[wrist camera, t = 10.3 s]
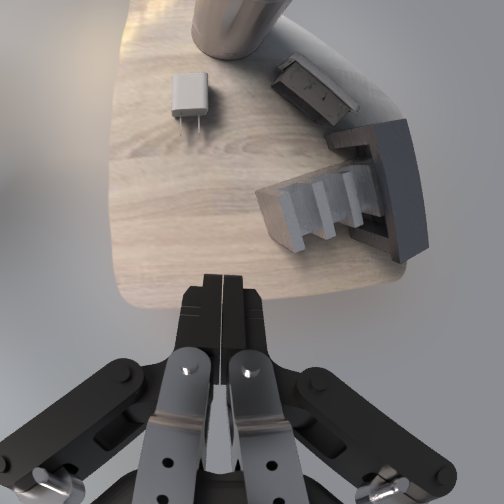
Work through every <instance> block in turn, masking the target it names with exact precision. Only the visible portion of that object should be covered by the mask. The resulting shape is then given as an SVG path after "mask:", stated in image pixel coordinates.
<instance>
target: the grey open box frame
mask: <svg viewBox="0 0 504 504" xmlns="http://www.w3.org/2000/svg"><path fill="white" fill-rule="evenodd" d="M325 139H326V142H327V145H328V148H329V149H335V148H343V147H351V146H356V149H357V152H358V156H359V157H372V158H373V162H374V166H375V170H376V174H377V179H378V183H379V188H380V192H381V197H382V202H383V207H384V213H385V215H384V216H381V217H379V216H375V215H372V216H373V220H369V219H365V218H364V219H363V223H364V224H363V225H361V226H358V227H356V228H354V227H351V226H349V230H350V235H351V238H352V239H355V240H358V241H360V242H363V243H365V244H368V245H370V246H373V247H375V248H378V249H380V250H382V251H385V252H387V253H390V254H391V257H392V261H395V262H397V263H399V264H401V263H403V262H405V261H406V260H408V259H410V258H412V257H413V256H415V255H417V254H419V253H420V252H422V251H424V250H426V249H427V248H429V243H428V232H427V223H426V215H425V207H424V200H423V194H422V188H421V182H420V176H419V171H418V166H417V161H416V156H415V152H414V148H413V143H412V139H411V135H410V131H409V127H408V124H407V120H406V119H401V120H395V121H389V122H384V123H377V124H372V125H367V126H362V127H357V128H353V129H349V130H344V131H340V132H336V133H332V134H328V135H325Z"/></svg>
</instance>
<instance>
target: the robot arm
mask: <svg viewBox="0 0 504 504" xmlns="http://www.w3.org/2000/svg"><path fill="white" fill-rule="evenodd" d="M291 1H292V0H196V3H195V10H194V16H193V23H192V37H193V40H194V42H195V44H196V45H197V47H198V48H199V49H200V50H201V51H203V52H204V53H206V54H207V55H209V56H212V57H215V58H219V59H225V60H233V59H239V58H243V57H246V56H247V55H249V54H251V53H252V52H254V51H255V50H256V49H257V47H258V46H259V45H260V43H261V42H262V40H263V39H264V38H265V36H266V35H267V34H268V32H269V31H270V29H271V28H272V27H273V25H274V24H275V23H276V21H277V20H278V18H279V17H280V16H281V14H282V13H283V12H284V10H285V9H286V8H287V7H288V5H289V4H290V3H291ZM221 301H222V275H218V274H204V280H203V287H199V286H190V287H189V288H188V290H187V291H186V292H185V293H184V295H183V300H182V307H181V312H180V317H179V323H178V330H177V336H176V342H175V348H174V351H173V352H172V354H171V355H170V356H169V357H168V358H167V359H166V360H164V361H162V362H160V363H157V364H152V365H146V366H140V365H139V364H138V363H137V362H135V361H133V360H131V359H127V358H120V359H116V360H114V361H111V362H110V363H108V364H107V365H106V366H104V367H103V368H102V369H100V370H99V371H97V372H96V373H95V374H93V375H92V376H91V377H89V378H88V379H87V380H85V381H84V382H82V383H81V384H80V385H78V386H77V387H76V388H74V389H73V390H71V391H70V392H69V393H67V394H66V395H65V396H63V397H62V398H60V399H59V400H58V401H56V402H55V403H54V404H52V405H51V406H49V407H48V408H47V409H45V410H44V411H43V412H41V413H40V414H38V415H37V416H36V417H34V418H33V419H32V420H30V421H29V422H27V423H26V424H25V425H23V426H22V427H21V428H19V429H18V430H16V431H15V432H14V433H12V434H11V435H10V436H8V437H7V438H5V439H4V440H3V441H1V442H0V485H2V486H5V487H7V488H9V489H11V490H12V491H14V492H15V494H16V495H17V497H18V498H19V500H20V501H21V503H22V504H80V503H81V502H82V501H83V499H84V497H85V486H84V484H83V482H82V481H83V480H84V479H85V478H87V477H88V476H89V475H91V474H92V473H93V472H94V471H96V470H97V469H98V468H100V467H101V466H102V465H103V464H105V463H106V462H107V461H108V460H109V459H111V458H112V457H113V456H115V455H116V454H117V453H118V452H119V451H121V450H122V449H123V448H124V447H125V446H126V445H128V444H129V443H130V442H131V441H133V440H134V439H135V438H136V437H137V436H139V435H140V434H141V433H142V432H143V431H144V430H146V431H145V436H144V441H143V446H142V451H141V456H140V461H139V466H138V469H137V470H134V471H132V472H130V473H127V474H126V475H124V476H123V477H121V478H120V479H119V480H118V481H117V482H115V483H114V484H113V485H112V486H111V487H110V488H108V489H107V490H106V491H105V492H104V493H103V494H102V495H100V496H99V497H98V498H97V499H96V500H94V501H93V502H92V503H91V504H343V503H342V502H341V501H340V500H338V499H337V498H336V497H335V496H334V495H333V494H331V493H330V492H329V491H328V490H327V489H325V488H324V487H323V486H322V485H321V484H319V483H318V482H316V481H315V480H314V479H312V478H310V477H308V476H306V475H303V473H302V469H301V465H300V460H299V456H298V452H297V447H296V443H295V438H296V439H298V440H299V441H300V442H301V443H302V444H303V445H304V446H305V447H307V448H308V449H309V450H310V451H311V452H312V453H314V454H315V455H316V456H317V457H318V458H319V459H321V460H322V461H323V462H324V463H326V464H327V465H328V466H329V467H330V468H332V469H333V470H334V471H335V472H337V473H338V474H339V475H341V476H342V477H343V478H344V479H346V480H347V481H348V482H350V483H351V484H352V485H353V486H355V487H356V488H357V491H356V495H355V501H356V504H428V502H430V501H432V500H435V499H437V498H440V497H443V496H445V495H447V494H448V493H450V491H452V489H453V488H454V486H455V483H456V480H457V472H456V469H455V467H454V465H453V464H452V463H451V462H450V461H448V460H447V459H445V458H444V457H443V456H441V455H440V454H438V453H437V452H435V451H434V450H433V449H431V448H430V447H428V446H427V445H425V444H424V443H423V442H421V441H420V440H419V439H417V438H416V437H415V436H413V435H412V434H410V433H409V432H408V431H406V430H405V429H404V428H402V427H401V426H400V425H398V424H397V423H396V422H394V421H393V420H392V419H390V418H389V417H388V416H386V415H385V414H384V413H382V412H381V411H380V410H378V409H377V408H376V407H375V406H373V405H372V404H370V403H369V402H368V401H367V400H365V399H364V398H363V397H362V396H360V395H359V394H358V393H357V392H355V391H354V390H353V389H351V388H350V387H349V386H348V385H346V384H345V383H344V382H343V381H341V380H340V379H339V378H338V377H336V376H335V375H334V374H333V373H331V372H330V371H328V370H326V369H324V368H320V367H312V368H308V369H306V370H304V371H303V372H302V373H299V372H295V371H291V370H288V369H284V368H282V367H280V366H278V365H277V364H276V363H274V362H273V361H272V360H271V358H270V356H269V354H268V351H267V344H266V335H265V326H264V319H263V318H264V317H263V311H262V299H261V297H260V296H259V294H258V293H257V291H256V290H255V289H243V278H242V276H239V275H224V284H223V303H222V336H221V385H226V387H227V388H226V389H227V390H226V395H227V396H226V409H227V419H228V429H229V437H230V447H231V463H232V472H231V473H226V474H215V473H211V472H207V471H205V469H206V455H207V454H206V453H207V440H208V430H209V421H210V412H211V403H212V400H213V385H214V384H215V385H218V384H219V366H220V333H221ZM294 437H295V438H294Z"/></svg>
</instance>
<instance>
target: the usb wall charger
mask: <svg viewBox="0 0 504 504" xmlns="http://www.w3.org/2000/svg"><path fill="white" fill-rule="evenodd" d="M207 111H208V73H204V72H199V73H177V74H173V75H172V116H173V117H180V135H181V117H183V116H198V134H200V116H203V115H206V114H207Z"/></svg>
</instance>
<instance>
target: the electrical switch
mask: <svg viewBox="0 0 504 504" xmlns="http://www.w3.org/2000/svg"><path fill="white" fill-rule="evenodd" d="M279 70H281V71H282V73H281V74H280V75H279V76H278V77H277V78H276V79H275V81H274V82H273V83H272V85H271V87H272V88H273V89H274V90H276V91H277V92H278V93H280V94H281V95H282V96H284V97H285V98H286V99H287V100H289V101H290V102H291V103H292V104H294V105H295V106H296V107H297V108H299V109H300V110H301V111H302V112H304V113H305V114H306V115H307V116H308V117H310V118H311V119H312V120H313V121H314V122H315V121H316V120H317V119H318V120H317V121H316V122H315V123H320V124H325V125H330V126H335V125H336V124H337V123H338V121H339V120H340V119H341V118H342V117H344V116H345V115H346V113H347V112H352V113H355V114H356V113H357V111H358V110H359V109H360V107H359V105H358V104H357V103H356V102H355V101H354V100H353V99H352V98H351V97H350V96H349V95H348V94H347V93H346V92H345V91H344V90H342V89H341V88H340V87H339V86H338V85H337V84H336V83H335V82H334V81H333V80H331V79H330V78H329V77H328V76H327V75H326V74H325V73H323V72H322V71H321V70H320V69H319V68H317V67H316V66H315V65H314V64H313V63H311V62H310V61H309V60H308V59H306V58H305V57H304V56H303V55H301V54H299V53H297V52H295V53H294V54H292V55H291V56H290V57H289V58H287V59H286V60H285V61H284V62H283V63H282V64H281V65H280V66H279ZM294 92H295V93H294ZM293 93H294V94H293ZM285 94H287V95H285ZM299 96H300V97H301V98H299ZM304 101H305V102H304ZM303 106H304V107H303Z"/></svg>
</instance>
